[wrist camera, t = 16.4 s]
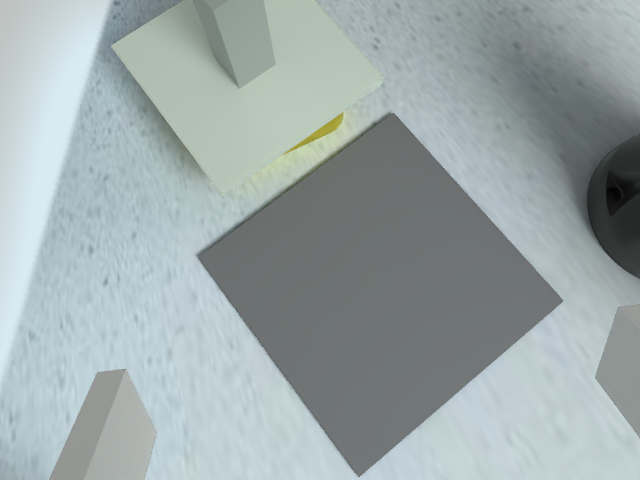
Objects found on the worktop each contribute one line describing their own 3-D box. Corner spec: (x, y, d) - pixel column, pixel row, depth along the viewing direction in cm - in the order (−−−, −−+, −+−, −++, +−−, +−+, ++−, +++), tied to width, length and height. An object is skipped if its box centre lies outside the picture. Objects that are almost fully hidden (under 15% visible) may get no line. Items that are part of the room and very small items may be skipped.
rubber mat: (392, 114, 46) (393, 112, 45) (561, 301, 41) (563, 300, 41) (199, 258, 43) (198, 257, 42) (358, 475, 38) (358, 477, 38)
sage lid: (269, -44, 45) (251, -164, 34) (382, 84, 42) (401, -5, 31) (116, 53, 43) (46, -43, 32) (222, 196, 40) (183, 142, 29)
